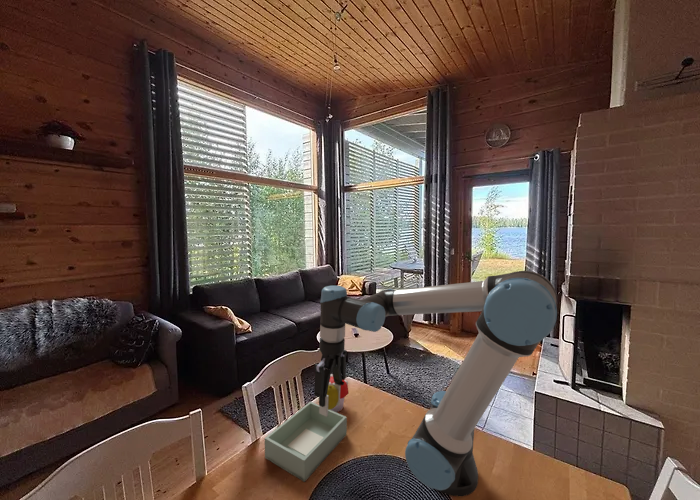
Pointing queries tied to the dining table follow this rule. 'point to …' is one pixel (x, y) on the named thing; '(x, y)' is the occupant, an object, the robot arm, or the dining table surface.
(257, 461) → the dining table surface
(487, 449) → the dining table surface
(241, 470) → the dining table surface
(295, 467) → the crate
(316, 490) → the dining table surface
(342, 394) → the mushroom
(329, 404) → the lemon
